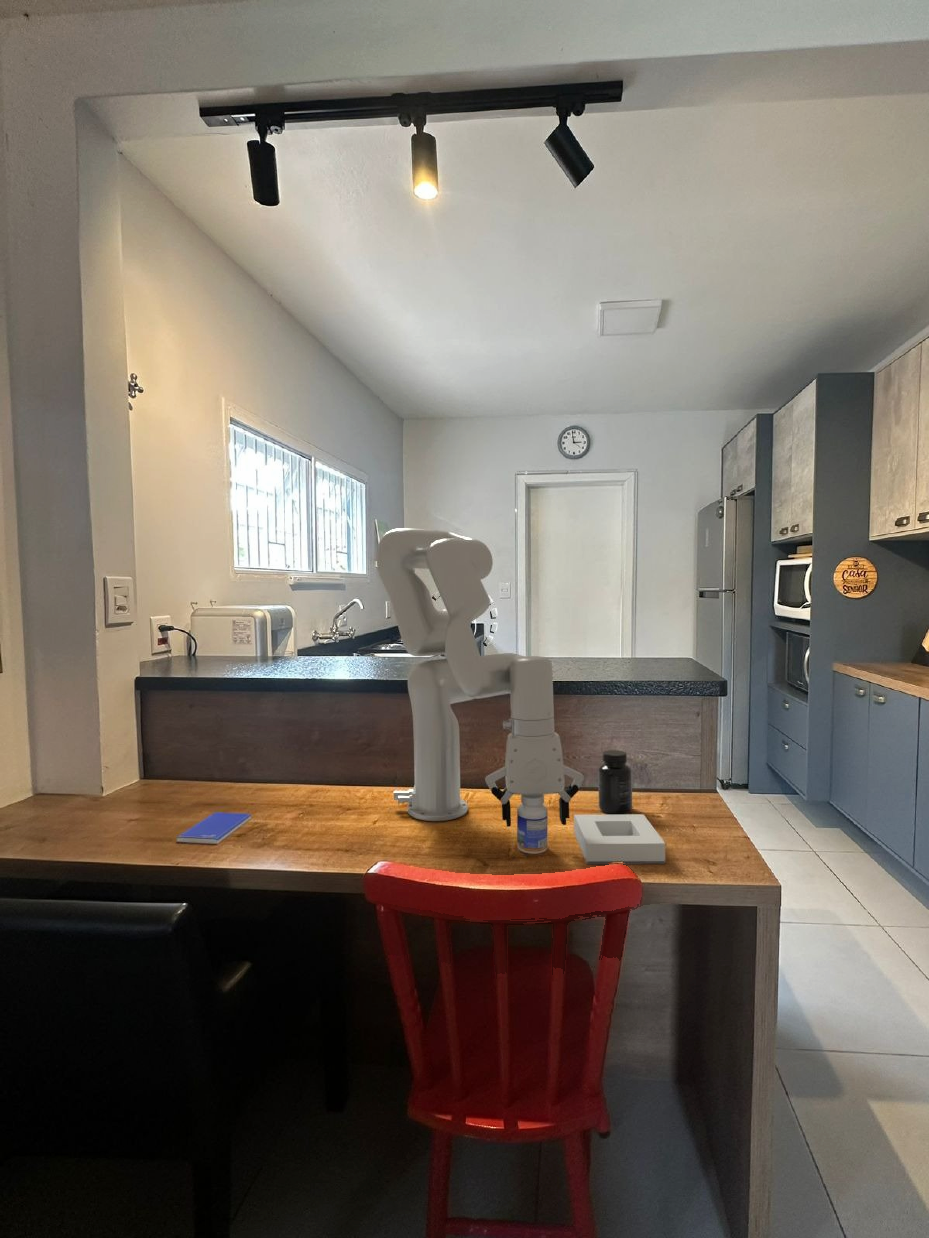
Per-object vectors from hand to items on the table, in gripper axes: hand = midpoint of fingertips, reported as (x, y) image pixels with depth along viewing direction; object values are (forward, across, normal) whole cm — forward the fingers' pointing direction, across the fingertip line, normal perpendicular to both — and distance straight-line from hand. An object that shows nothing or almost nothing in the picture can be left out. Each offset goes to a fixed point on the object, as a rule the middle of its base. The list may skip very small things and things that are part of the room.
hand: (535, 822), depth 107 cm
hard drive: (+4, -62, +10) cm, 62 cm away
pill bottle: (+5, -1, +1) cm, 5 cm away
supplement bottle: (+5, +18, +19) cm, 27 cm away
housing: (+5, +14, +1) cm, 15 cm away
